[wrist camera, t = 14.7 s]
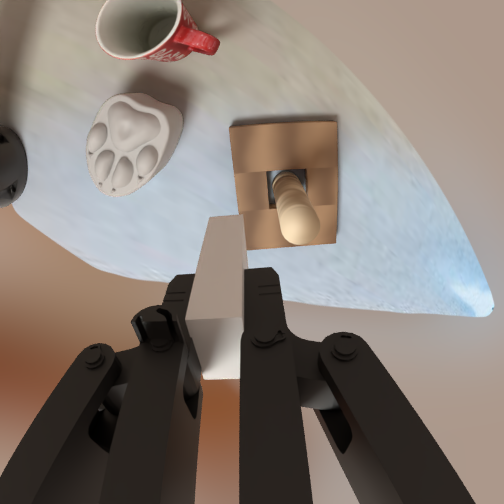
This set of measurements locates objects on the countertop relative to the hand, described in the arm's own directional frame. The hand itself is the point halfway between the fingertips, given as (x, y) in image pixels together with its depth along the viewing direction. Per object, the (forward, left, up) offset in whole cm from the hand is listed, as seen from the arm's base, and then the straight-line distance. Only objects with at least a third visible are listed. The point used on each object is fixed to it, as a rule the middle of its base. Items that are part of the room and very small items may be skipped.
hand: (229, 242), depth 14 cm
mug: (-7, +15, -29) cm, 33 cm away
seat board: (+5, -7, -29) cm, 30 cm away
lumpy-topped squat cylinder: (-14, +2, -29) cm, 33 cm away
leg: (+5, -7, -29) cm, 30 cm away
